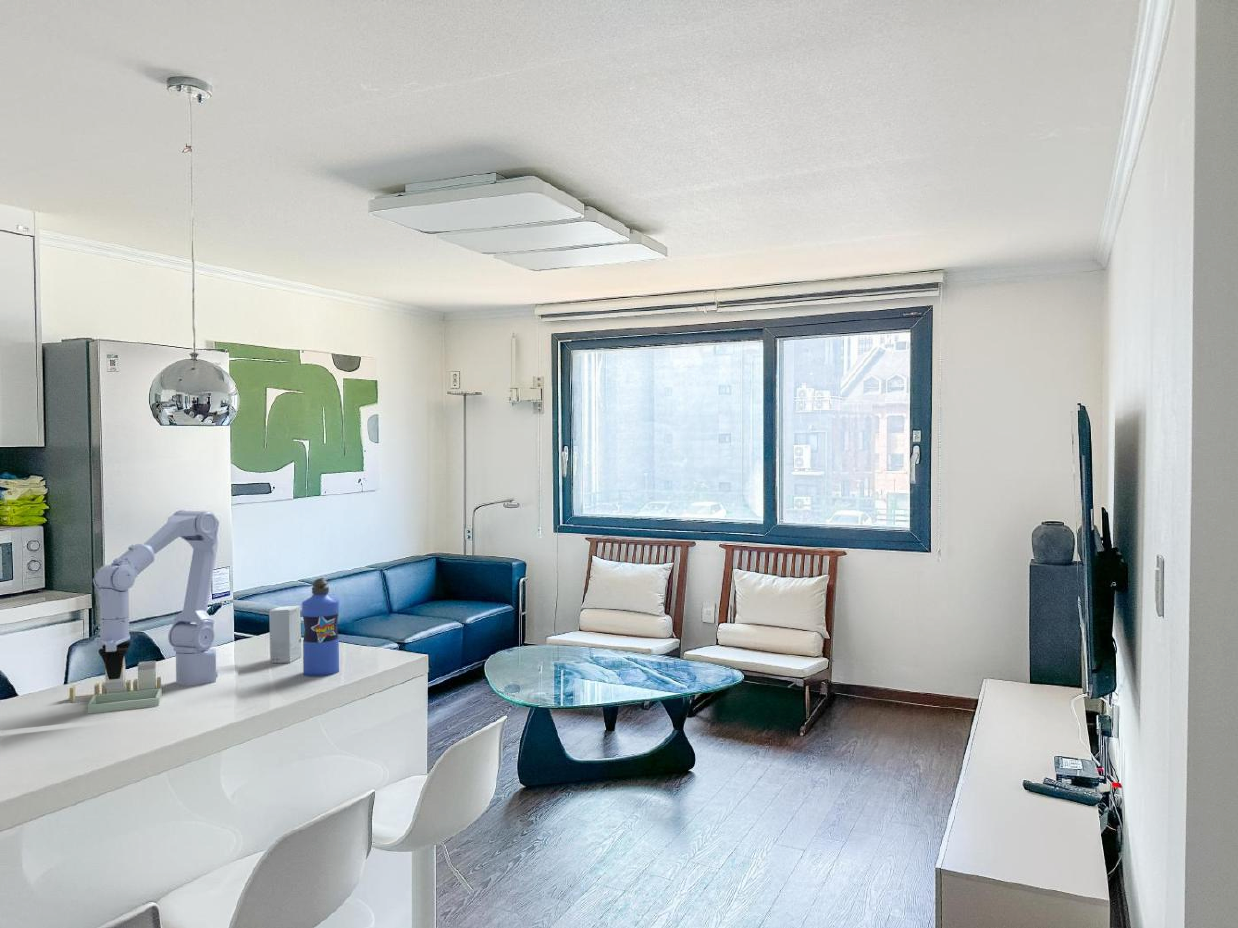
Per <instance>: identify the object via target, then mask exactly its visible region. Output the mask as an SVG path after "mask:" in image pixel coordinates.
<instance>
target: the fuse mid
mask: <svg viewBox="0 0 1238 928" xmlns="http://www.w3.org/2000/svg"><path fill="white" fill-rule="evenodd" d="M126 682H127V679H126V678H125V684H124V686H123V687H114V688H107V694H111V693H121V692H126Z"/></svg>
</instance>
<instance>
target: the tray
mask: <svg viewBox="0 0 1238 928" xmlns="http://www.w3.org/2000/svg"><path fill="white" fill-rule="evenodd" d="M100 694H101V693H100ZM162 696H163V694H162V688H160V689H151V690H141V691H131V692H121V693H111V694H101V695H94V696H93V697H92V699H91V701H88V704H87V714H95V713H103V712H113V711H122V710H130V709H131V710H132V709H142V708H143V709H144V708H150V707H159V706H160V703H161V701H162Z"/></svg>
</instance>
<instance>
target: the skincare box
mask: <svg viewBox="0 0 1238 928" xmlns="http://www.w3.org/2000/svg"><path fill="white" fill-rule="evenodd" d="M268 614H269V617H268V618H269V619H268V620H269V654H270V658H269V659H270V663H273V664H274V663H280V664H290V663H292V662H293V661H295V660H298V658H301V657H303V652H302V627H301V626H302V624H301V623H302V621H301V605H285V606H278V607H275V608H272V609H270V610H269V613H268Z"/></svg>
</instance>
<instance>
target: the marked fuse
mask: <svg viewBox="0 0 1238 928" xmlns="http://www.w3.org/2000/svg"><path fill="white" fill-rule="evenodd" d="M104 675H105V676H104V678H105V679H104V682H105V688H114V687H123V686H124V684H125V679H126V656H124V659H123V663H122V670H121V675H120V678H119V679H111V680H109V678H108V675H107V671H106V666H105V665H104Z"/></svg>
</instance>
